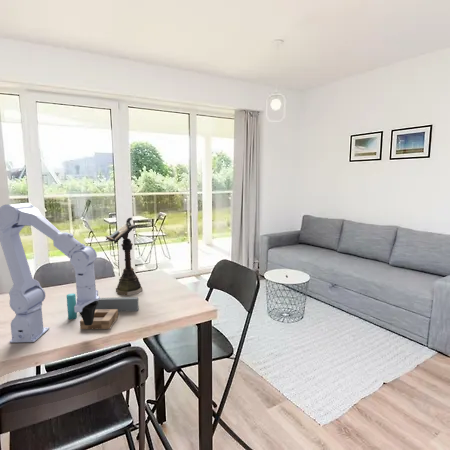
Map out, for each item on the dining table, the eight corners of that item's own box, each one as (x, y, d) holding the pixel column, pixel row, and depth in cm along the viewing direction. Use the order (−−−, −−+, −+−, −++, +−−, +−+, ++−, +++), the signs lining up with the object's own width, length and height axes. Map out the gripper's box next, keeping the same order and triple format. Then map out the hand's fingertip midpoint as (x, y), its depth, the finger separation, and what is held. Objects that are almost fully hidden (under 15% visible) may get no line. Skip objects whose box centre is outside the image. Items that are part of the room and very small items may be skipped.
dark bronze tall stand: (110, 300, 138) (105, 219, 133) (102, 291, 148) (98, 217, 143) (147, 292, 147) (144, 217, 142) (137, 285, 158) (134, 214, 153)
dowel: (74, 319, 119) (73, 296, 118) (66, 319, 119) (65, 296, 118) (78, 316, 122) (76, 293, 121) (70, 316, 122) (68, 293, 121)
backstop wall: (137, 311, 126) (136, 298, 126) (81, 312, 126) (80, 299, 125) (140, 306, 131) (139, 295, 130) (85, 307, 130) (84, 295, 129)
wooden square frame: (109, 328, 111) (109, 320, 111) (80, 329, 111) (79, 321, 110) (118, 316, 121) (117, 309, 121) (91, 317, 121) (90, 309, 120)
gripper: (89, 292, 96) (92, 334, 98) (105, 277, 111) (108, 314, 113) (66, 292, 96) (69, 335, 98) (85, 278, 111) (88, 315, 112)
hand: (88, 324), depth 105 cm, fingers closed
